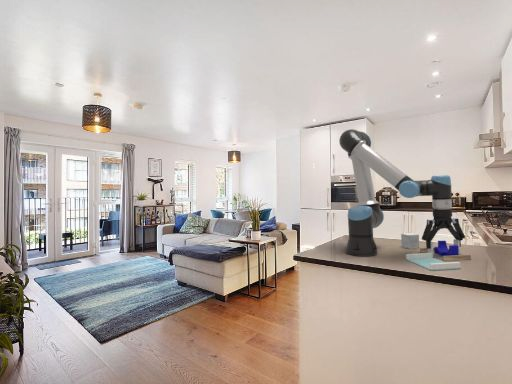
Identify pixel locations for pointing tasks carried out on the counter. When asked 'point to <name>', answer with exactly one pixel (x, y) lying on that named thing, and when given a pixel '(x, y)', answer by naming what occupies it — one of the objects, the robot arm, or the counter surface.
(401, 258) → the counter surface
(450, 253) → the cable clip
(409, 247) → the grey block
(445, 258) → the upper dock
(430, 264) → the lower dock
